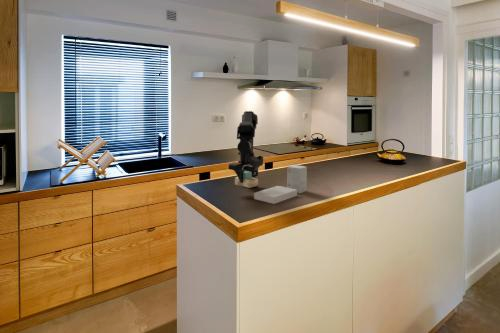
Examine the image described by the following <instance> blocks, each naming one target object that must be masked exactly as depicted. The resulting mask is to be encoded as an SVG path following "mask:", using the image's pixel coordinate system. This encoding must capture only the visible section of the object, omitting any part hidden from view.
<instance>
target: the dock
mask: <svg viewBox="0 0 500 333" xmlns="http://www.w3.org/2000/svg"><path fill="white" fill-rule="evenodd" d="M294 197H298V193H297V190H296V189H291V188H287V186H281V185H276V186H272V187H270V188H269V187H268V188H265V189H262V190H259V191H256V192H253V199H254V200H256V201H261V202H265V203H268V204H273V205H274V204H278V203H281V202H283V201H286V200H288V199H289V200H290V199H292V198H294Z"/></svg>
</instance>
